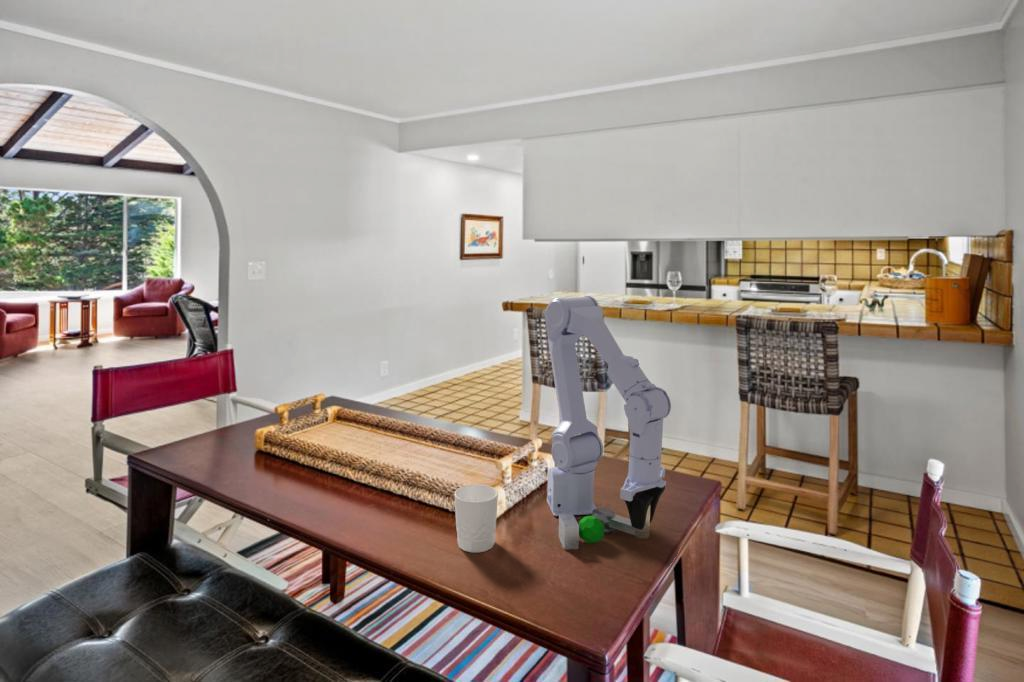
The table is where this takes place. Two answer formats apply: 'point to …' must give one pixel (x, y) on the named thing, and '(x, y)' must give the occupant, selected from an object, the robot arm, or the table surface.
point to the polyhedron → (591, 529)
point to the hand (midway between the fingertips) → (641, 524)
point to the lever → (621, 522)
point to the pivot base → (609, 530)
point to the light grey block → (568, 531)
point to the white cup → (476, 517)
